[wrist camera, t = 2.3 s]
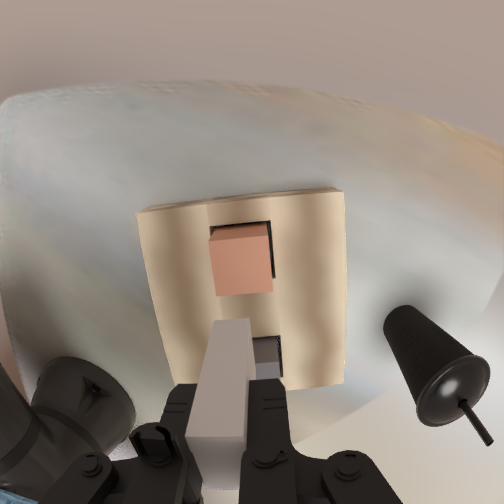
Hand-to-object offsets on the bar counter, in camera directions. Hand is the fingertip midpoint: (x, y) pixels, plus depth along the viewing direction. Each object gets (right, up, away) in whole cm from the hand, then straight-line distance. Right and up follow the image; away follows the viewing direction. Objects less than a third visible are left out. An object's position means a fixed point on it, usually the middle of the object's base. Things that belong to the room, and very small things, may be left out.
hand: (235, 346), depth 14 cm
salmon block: (0, +4, +16) cm, 16 cm away
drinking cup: (+18, -4, +21) cm, 28 cm away
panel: (+1, 0, +20) cm, 20 cm away
